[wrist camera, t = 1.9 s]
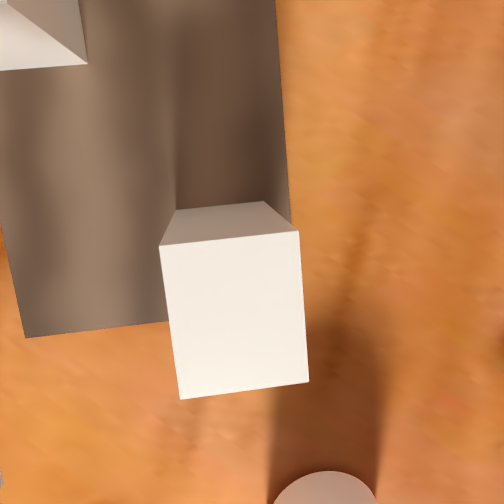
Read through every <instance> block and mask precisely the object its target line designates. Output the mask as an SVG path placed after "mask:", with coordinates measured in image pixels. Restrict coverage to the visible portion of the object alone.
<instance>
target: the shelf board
mask: <svg viewBox="0 0 504 504" xmlns="http://www.w3.org/2000/svg"><path fill="white" fill-rule="evenodd" d="M78 4H79V11H80V17H81V23H82V29H83V35H84V42H85V48H86V54H87V60H88V64H81V65H68V66H55V67H42V68H29V69H16V70H3V71H0V224H1V229H2V233H3V238H4V242H5V247H6V252H7V256H8V261H9V265H10V270H11V274H12V279H13V284H14V288H15V293H16V297H17V302H18V307H19V311H20V316H21V320H22V325H23V330H24V334H25V338H32V337H41V336H49V335H57V334H65V333H73V332H82V331H90V330H98V329H106V328H114V327H122V326H131V325H139V324H147V323H155V322H163V321H169V316H168V309H167V302H166V295H165V288H164V281H163V273H162V266H161V259H160V252H159V244H160V242H161V240H162V238H163V236H164V234H165V232H166V230H167V227H168V225H169V223H170V221H171V219H172V217H173V215H174V213H175V211H176V210H181V209H191V208H200V207H210V206H220V205H229V204H239V203H249V202H258V201H264V202H265V203H267V204H268V205H269V206H270V207H271V208H272V209H274V210H275V211H276V212H277V213H278V214H280V215H281V216H282V217H283V218H284V219H285V220H287V221H288V222H289V223H290V224H291V213H290V200H289V186H288V172H287V158H286V145H285V131H284V117H283V103H282V90H281V76H280V62H279V48H278V35H277V21H276V7H275V0H78Z"/></svg>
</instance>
